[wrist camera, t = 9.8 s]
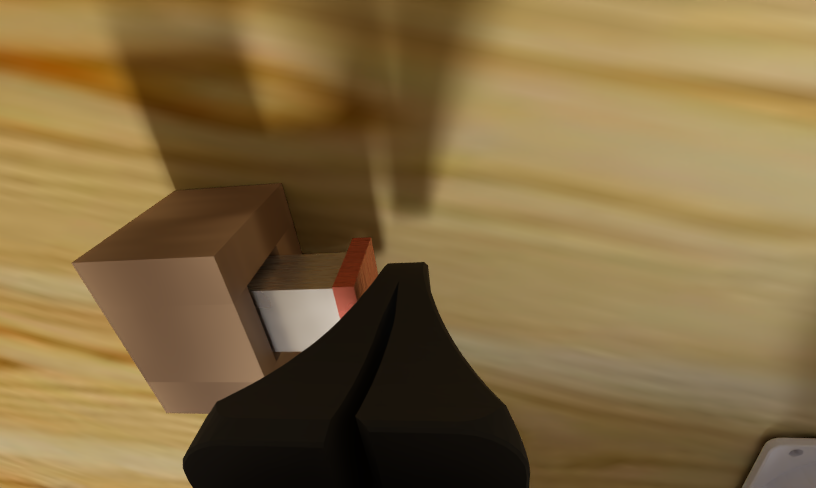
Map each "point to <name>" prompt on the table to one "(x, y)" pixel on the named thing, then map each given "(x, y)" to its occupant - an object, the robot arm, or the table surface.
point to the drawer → (310, 293)
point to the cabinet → (193, 290)
